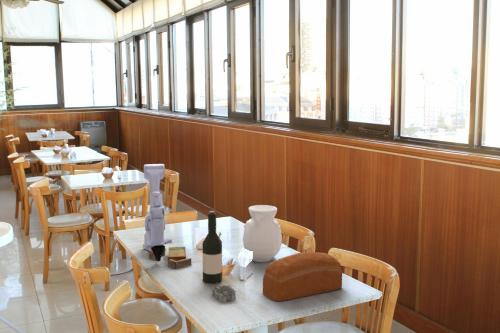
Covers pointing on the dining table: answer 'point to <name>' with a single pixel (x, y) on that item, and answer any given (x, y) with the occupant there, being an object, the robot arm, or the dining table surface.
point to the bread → (301, 276)
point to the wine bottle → (212, 253)
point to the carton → (177, 253)
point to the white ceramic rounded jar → (262, 233)
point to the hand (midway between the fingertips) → (158, 261)
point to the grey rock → (224, 293)
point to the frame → (173, 261)
